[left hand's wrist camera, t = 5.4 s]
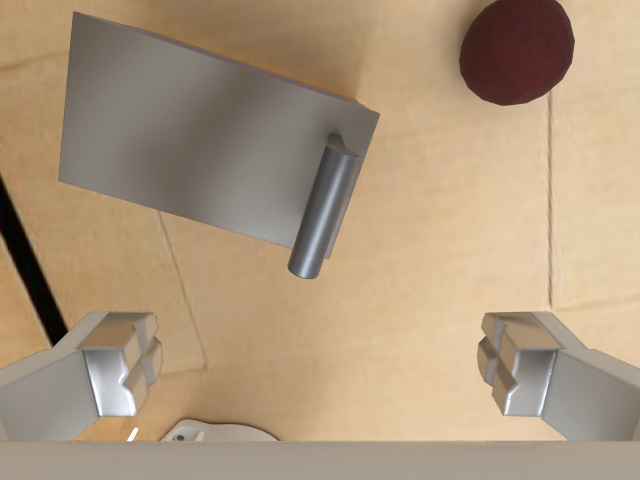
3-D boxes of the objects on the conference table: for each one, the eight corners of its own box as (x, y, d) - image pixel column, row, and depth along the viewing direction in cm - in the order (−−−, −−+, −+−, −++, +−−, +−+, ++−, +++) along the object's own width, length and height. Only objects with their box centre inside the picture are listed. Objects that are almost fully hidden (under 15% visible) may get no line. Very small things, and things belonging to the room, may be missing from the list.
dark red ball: (512, -21, 32) (562, -46, 25) (558, 66, 34) (615, 63, 27) (430, 45, 33) (457, 37, 27) (479, 123, 36) (515, 134, 29)
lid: (378, 112, 25) (404, 128, 17) (328, 254, 28) (332, 319, 21) (81, 13, 23) (-36, -19, 15) (65, 177, 26) (-37, 218, 19)
